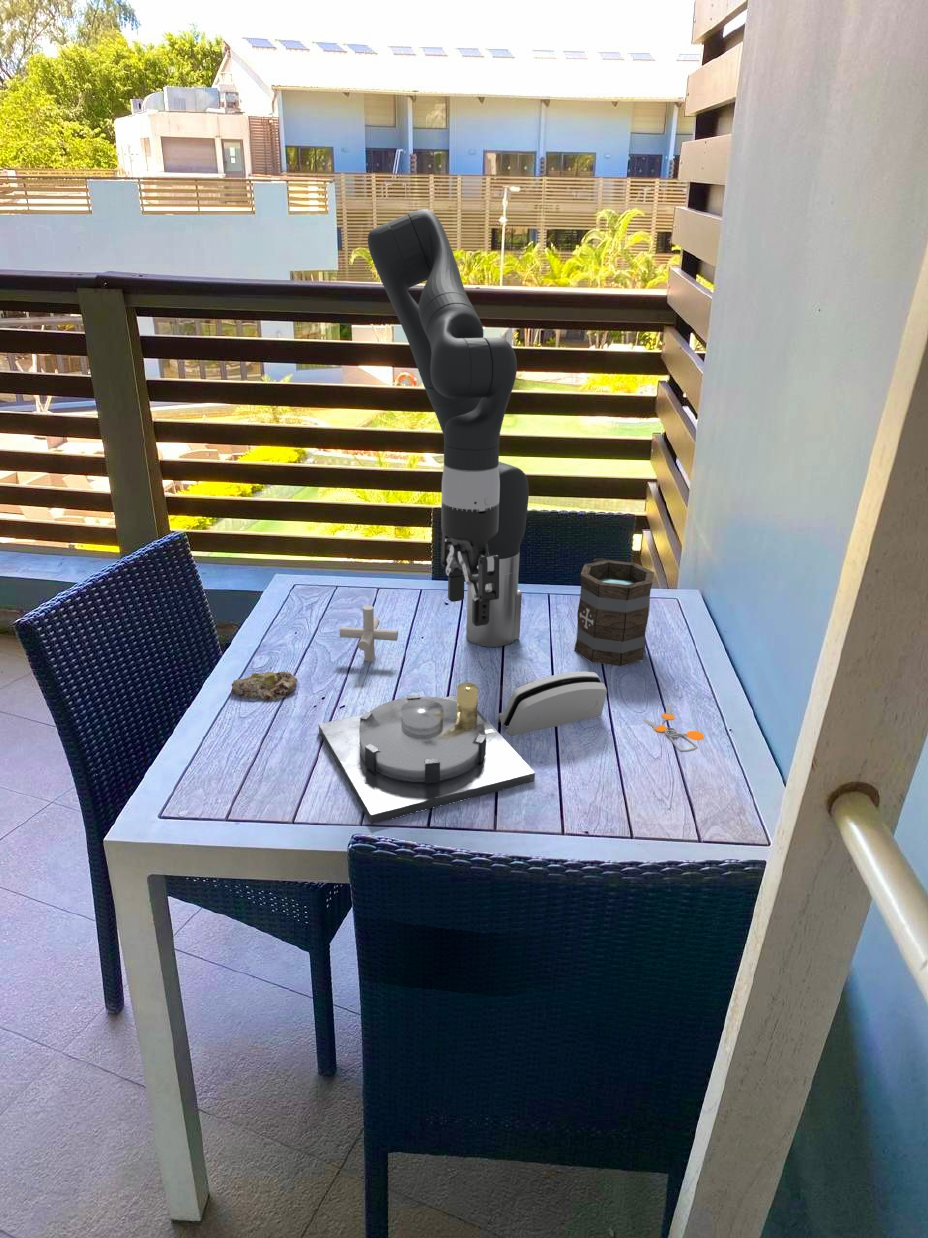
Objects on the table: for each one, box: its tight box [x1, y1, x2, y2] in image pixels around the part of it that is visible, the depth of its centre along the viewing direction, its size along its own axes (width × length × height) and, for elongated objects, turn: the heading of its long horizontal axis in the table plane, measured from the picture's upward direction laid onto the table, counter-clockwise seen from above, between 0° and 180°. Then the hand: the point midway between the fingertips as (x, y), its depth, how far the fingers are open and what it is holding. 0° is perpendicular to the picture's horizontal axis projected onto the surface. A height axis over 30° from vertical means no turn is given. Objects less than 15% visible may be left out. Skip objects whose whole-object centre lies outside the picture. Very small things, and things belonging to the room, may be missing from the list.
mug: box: [573, 557, 655, 667], centre depth 159 cm, size 20×14×15 cm
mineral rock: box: [231, 670, 298, 701], centre depth 143 cm, size 11×4×8 cm
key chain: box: [642, 705, 705, 753], centre depth 134 cm, size 13×7×1 cm, turn 19°
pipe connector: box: [339, 605, 399, 662], centre depth 151 cm, size 10×10×10 cm
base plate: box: [318, 694, 536, 825], centre depth 125 cm, size 24×24×2 cm
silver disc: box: [359, 682, 486, 784], centre depth 123 cm, size 18×19×9 cm
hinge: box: [496, 671, 608, 738], centre depth 133 cm, size 17×5×10 cm, turn 114°
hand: (467, 612), depth 119 cm, fingers open, 8 cm apart
